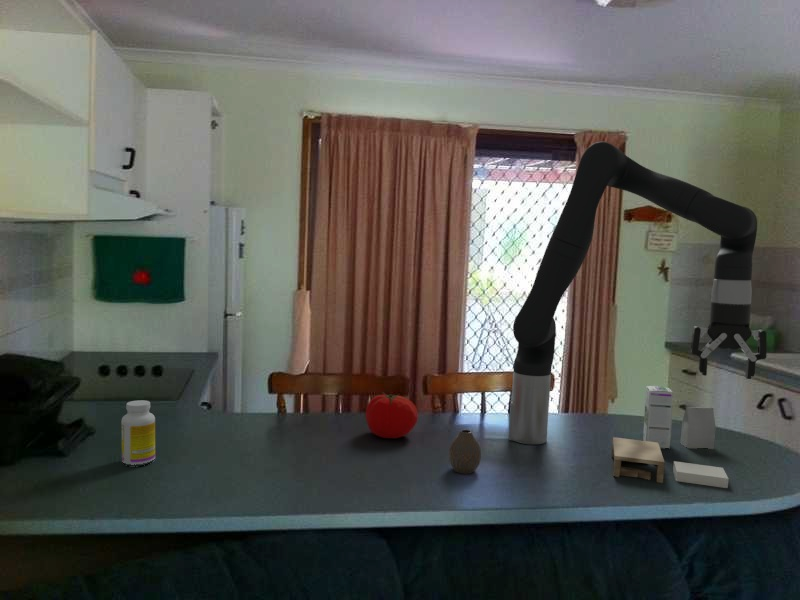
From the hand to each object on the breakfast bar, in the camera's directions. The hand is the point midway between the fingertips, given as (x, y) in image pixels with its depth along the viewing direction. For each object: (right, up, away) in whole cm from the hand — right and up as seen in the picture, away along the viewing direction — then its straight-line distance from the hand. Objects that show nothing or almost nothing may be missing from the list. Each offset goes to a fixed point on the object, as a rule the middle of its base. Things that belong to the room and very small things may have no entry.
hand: (725, 376), depth 138 cm
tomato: (-72, -18, +24) cm, 78 cm away
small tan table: (-17, -22, +7) cm, 28 cm away
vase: (-56, -21, +2) cm, 59 cm away
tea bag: (+6, -21, +26) cm, 33 cm away
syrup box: (-5, -20, +26) cm, 33 cm away
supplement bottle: (-125, -18, 0) cm, 126 cm away
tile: (-4, -23, +3) cm, 24 cm away
